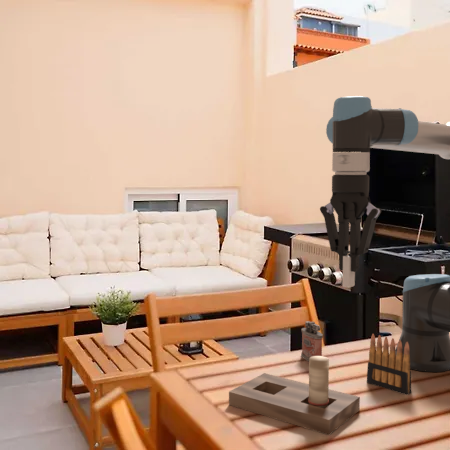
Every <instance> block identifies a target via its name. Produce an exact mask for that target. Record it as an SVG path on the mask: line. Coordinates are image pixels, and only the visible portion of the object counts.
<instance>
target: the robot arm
mask: <svg viewBox="0 0 450 450" xmlns="http://www.w3.org/2000/svg"><path fill="white" fill-rule="evenodd" d="M332 108H333V109H332V116H331V118H329V120H328V122H327V124H326V129H325V130H326V131H325V133H326V137H327V139H328V141H329V142H330V143H331V144H332V162H331V163H332V165H331V166H332V169H331V171H332V172H333V173H334V174H333V175H332V176H331V193H332V194H331V198H330V200H329V202H328V203H326V204H325V205H323V206H320V208H319V210H320V213H321V214H322V216H323V218H324V219H323V220H324V224H325V228H326V234H327V237H328V238H327V239H328V243H329V248H330V251H331V252H333V253H336V254H338V258H339V259H338V261H339V262H338V269H339V271H342V288H347V289H350V288H352V287H354V286H355V284H356V283H355V281H356V272H358V271H359V270H360V256H361V255H364V254H366V253H369V249H370V246H371V241H372V239H373V234H374V230H375V226H376V221H377V219H378V217H379V216H380V215H381V213H382V209H381V208H380V207H376V206H374V204H372V203H371V198H370V196H369V195H370V194H369V193H370V175H369V174H367V173H369V172H370V169H371V167H370V164H371V163H370V160H371V159H370V157H371V156H370V155H371V149H372V148H373V149H381V150H382V149H383V150H391V151H403V152H411V153H412V152H413V153H422V154H423V153H424V154H432V155H433V154H434V155H438V156H439V157H440V158H442V159H445V160H450V121H447V122H444V123H436V122H429V121H427V122H426V121H420V120H418V117H417V115H416V114H415V112H414V111H412V110H410V109H404V108H403V109H402V108H378V107H377V108H375V107H372V101H371V98H370V97H368V96H362V95H359V96H358V95H355V96H354V95H353V96H351V95H350V96H342V97H341V96H340V97H338V98H336V99H335V101H334V102H333V107H332ZM334 212H335V213H336V214H337V222H336V216H335V214H334ZM364 214H366V215H367V217H366V218H365V222H364V226H363V230H362V231H361V228H362V227H361V225H362V221H363V217H362V216H363V215H364ZM337 223H338V226H337ZM361 232H362V234H361ZM401 319H402V324H401V328H402V330H401V334H400V336H399V338H398V342H399V340H401V343H402V355H403V357H404V348H405V344H406V342H408V344H409V351H410V352H409V354H410V370H414V371H419V372H427V373H429V372H430V373H431V372H432V373H439V372H440V373H441V372H447V371H450V274H441V273H430V274H427V273H426V274H416V275H409V276H408V277H406V278H405V279H404V281H403V290H402V317H401ZM398 342H397V343H396V346H395V354H396V355H397V346H398Z"/></svg>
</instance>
